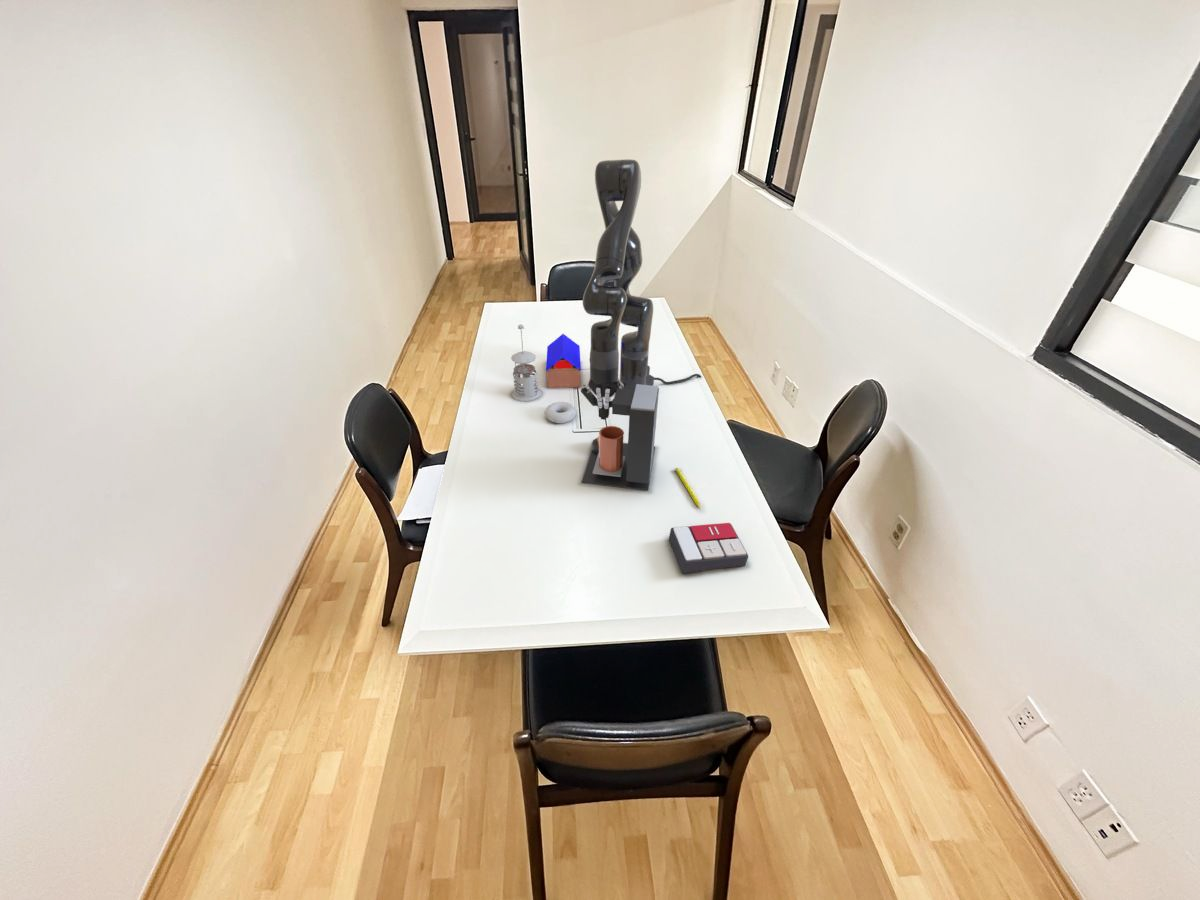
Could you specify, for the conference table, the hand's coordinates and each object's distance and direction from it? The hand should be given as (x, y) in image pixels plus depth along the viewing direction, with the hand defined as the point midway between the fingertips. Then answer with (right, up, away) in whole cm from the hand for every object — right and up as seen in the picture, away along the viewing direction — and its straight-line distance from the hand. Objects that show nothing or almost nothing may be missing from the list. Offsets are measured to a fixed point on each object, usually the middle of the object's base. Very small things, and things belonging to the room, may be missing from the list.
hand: (603, 418), depth 147 cm
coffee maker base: (+5, -13, +1) cm, 14 cm away
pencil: (+22, -20, -8) cm, 31 cm away
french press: (-27, +11, +34) cm, 44 cm away
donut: (-14, +2, +21) cm, 25 cm away
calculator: (+24, -33, -26) cm, 48 cm away
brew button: (0, -7, +5) cm, 9 cm away
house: (-14, +18, +45) cm, 50 cm away
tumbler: (+2, -13, -4) cm, 14 cm away
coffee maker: (+5, -14, -4) cm, 15 cm away
